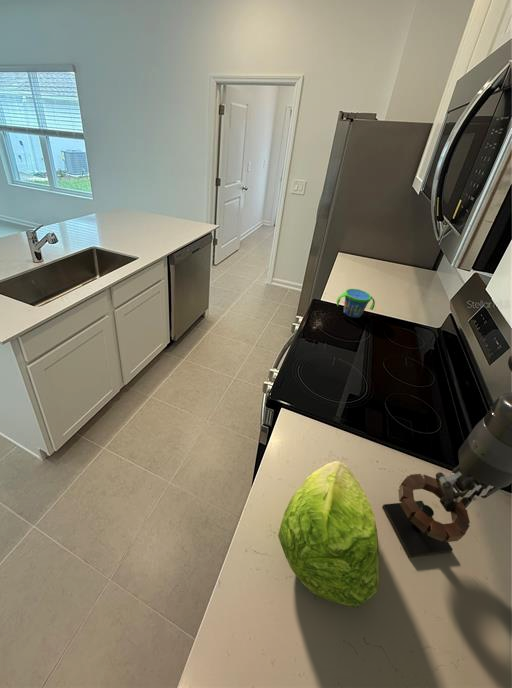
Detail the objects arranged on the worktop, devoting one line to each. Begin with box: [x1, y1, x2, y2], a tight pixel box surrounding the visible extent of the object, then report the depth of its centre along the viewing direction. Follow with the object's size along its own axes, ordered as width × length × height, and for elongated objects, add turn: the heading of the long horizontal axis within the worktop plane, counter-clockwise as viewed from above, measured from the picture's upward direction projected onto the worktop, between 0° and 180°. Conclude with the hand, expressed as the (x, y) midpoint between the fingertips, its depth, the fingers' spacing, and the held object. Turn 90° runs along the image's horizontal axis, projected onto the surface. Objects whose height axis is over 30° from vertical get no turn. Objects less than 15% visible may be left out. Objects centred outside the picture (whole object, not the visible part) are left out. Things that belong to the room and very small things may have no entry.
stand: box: [381, 500, 454, 558], centre depth 61 cm, size 9×9×7 cm
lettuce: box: [277, 460, 380, 608], centre depth 58 cm, size 17×24×14 cm
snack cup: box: [336, 288, 376, 319], centre depth 134 cm, size 16×10×10 cm
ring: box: [398, 473, 471, 543], centre depth 58 cm, size 11×11×2 cm
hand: (451, 505), depth 59 cm, fingers closed on ring, 2 cm apart
